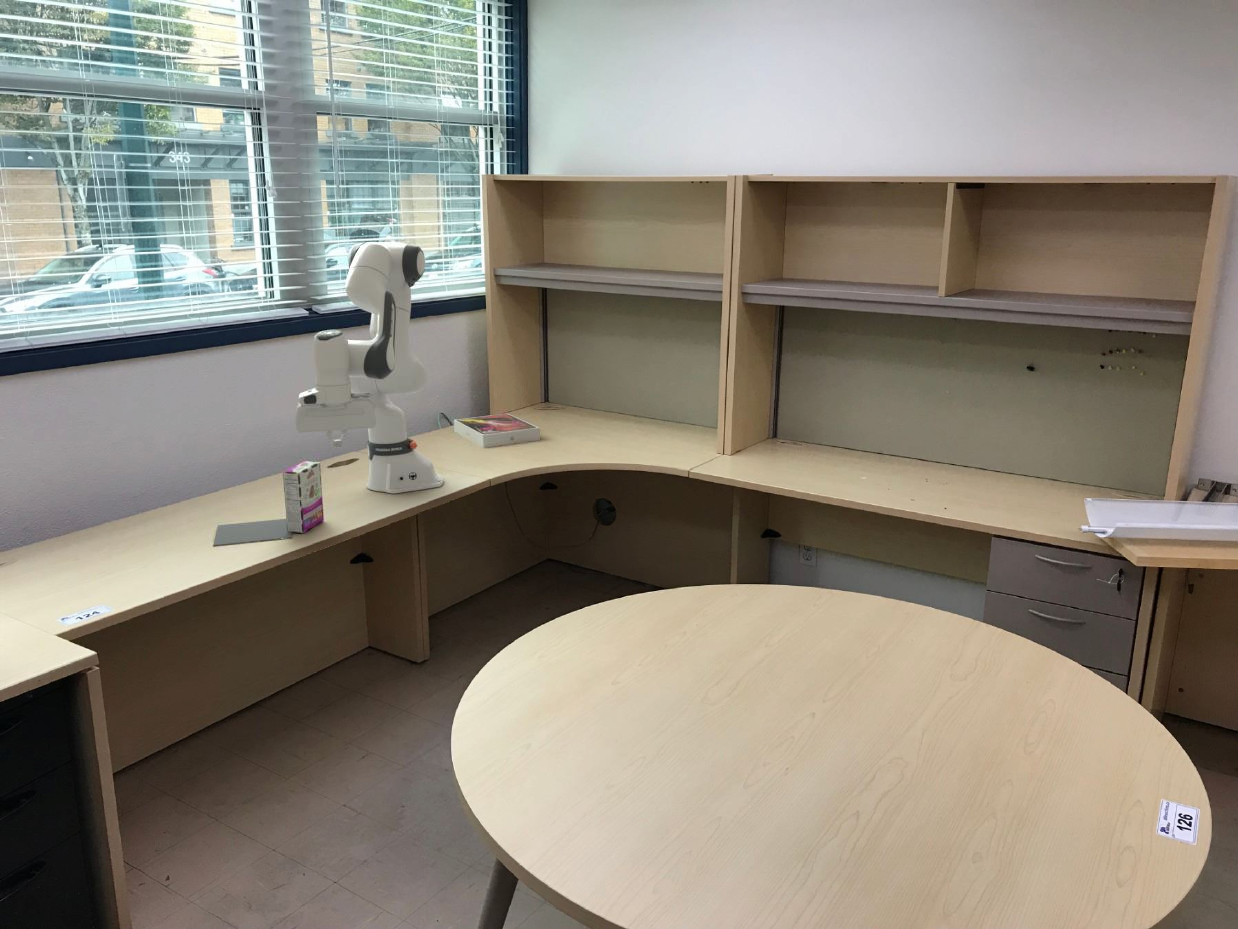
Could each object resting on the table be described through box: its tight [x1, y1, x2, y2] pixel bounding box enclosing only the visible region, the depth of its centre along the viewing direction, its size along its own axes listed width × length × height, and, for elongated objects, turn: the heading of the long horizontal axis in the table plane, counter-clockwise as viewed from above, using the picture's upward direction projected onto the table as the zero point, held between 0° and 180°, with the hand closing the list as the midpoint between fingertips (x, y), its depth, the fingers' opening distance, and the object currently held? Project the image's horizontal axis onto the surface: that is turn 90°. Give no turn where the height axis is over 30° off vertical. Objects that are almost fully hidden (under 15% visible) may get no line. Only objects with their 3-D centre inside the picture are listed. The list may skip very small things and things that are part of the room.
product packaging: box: [453, 413, 541, 449], centre depth 352 cm, size 22×28×5 cm
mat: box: [212, 518, 292, 547], centre depth 252 cm, size 18×16×1 cm
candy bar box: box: [282, 460, 325, 534], centre depth 253 cm, size 11×5×16 cm, turn 168°
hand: (337, 446), depth 253 cm, fingers closed
